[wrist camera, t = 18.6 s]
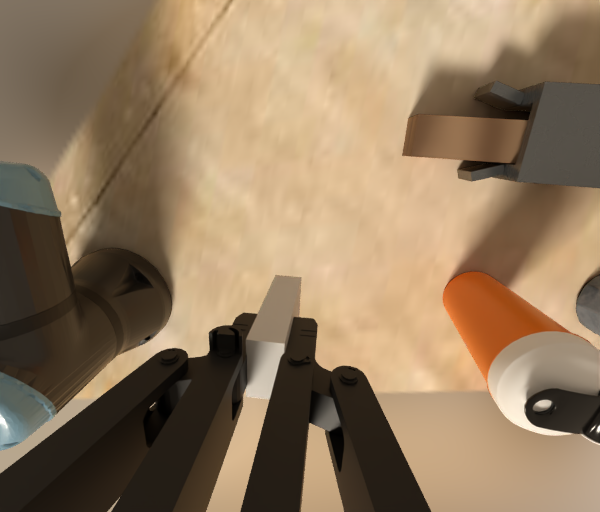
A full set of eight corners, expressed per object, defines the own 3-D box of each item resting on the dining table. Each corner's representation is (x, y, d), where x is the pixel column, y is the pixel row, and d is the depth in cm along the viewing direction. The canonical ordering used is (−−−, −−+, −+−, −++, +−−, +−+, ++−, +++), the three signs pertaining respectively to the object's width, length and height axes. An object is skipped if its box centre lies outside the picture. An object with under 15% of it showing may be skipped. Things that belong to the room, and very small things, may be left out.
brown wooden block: (402, 155, 37) (411, 156, 33) (407, 118, 36) (418, 114, 31) (526, 164, 36) (555, 166, 31) (537, 126, 35) (569, 122, 30)
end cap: (455, 178, 37) (480, 184, 31) (475, 88, 34) (508, 73, 28) (556, 185, 36) (604, 193, 30) (586, 93, 33) (647, 80, 27)
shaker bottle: (441, 261, 41) (531, 358, 22) (515, 267, 40) (675, 373, 21) (429, 322, 43) (499, 454, 25) (497, 328, 43) (624, 471, 24)
